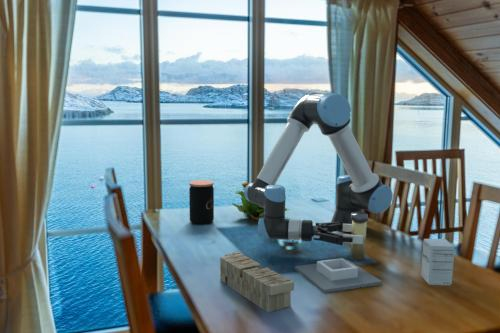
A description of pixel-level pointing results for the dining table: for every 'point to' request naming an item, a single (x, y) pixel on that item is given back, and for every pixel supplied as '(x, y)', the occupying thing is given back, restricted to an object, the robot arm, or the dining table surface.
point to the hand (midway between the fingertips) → (361, 233)
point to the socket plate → (337, 275)
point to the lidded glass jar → (358, 229)
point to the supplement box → (437, 261)
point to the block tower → (256, 282)
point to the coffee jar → (201, 202)
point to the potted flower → (250, 206)
